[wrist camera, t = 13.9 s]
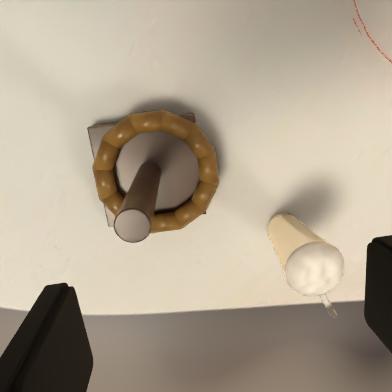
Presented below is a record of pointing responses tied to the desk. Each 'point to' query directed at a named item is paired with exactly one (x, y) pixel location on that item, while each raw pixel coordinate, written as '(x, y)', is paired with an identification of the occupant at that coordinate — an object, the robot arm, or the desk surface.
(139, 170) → the peg stand
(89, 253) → the desk surface
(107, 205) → the ring
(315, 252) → the milkshake
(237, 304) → the desk surface
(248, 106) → the desk surface
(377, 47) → the figurine
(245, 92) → the desk surface
